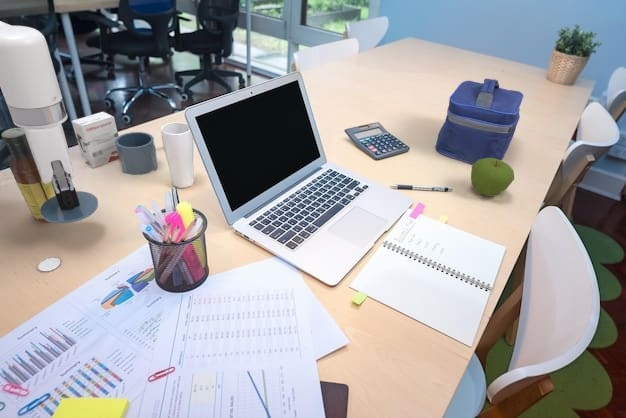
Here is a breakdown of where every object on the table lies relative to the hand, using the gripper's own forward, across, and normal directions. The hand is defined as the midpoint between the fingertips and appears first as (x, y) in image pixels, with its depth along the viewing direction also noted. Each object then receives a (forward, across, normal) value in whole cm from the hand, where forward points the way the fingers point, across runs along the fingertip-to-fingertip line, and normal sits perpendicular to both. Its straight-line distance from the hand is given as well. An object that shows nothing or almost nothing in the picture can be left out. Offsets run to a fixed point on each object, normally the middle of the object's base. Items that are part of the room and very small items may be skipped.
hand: (68, 201), depth 74 cm
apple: (+7, +32, +94) cm, 99 cm away
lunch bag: (+7, +12, +115) cm, 116 cm away
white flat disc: (+9, +6, -6) cm, 13 cm away
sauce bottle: (+9, -10, -4) cm, 14 cm away
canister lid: (+2, 0, 0) cm, 2 cm away
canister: (+9, -22, +18) cm, 29 cm away
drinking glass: (+9, -10, +25) cm, 28 cm away
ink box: (+9, -30, +11) cm, 33 cm away
